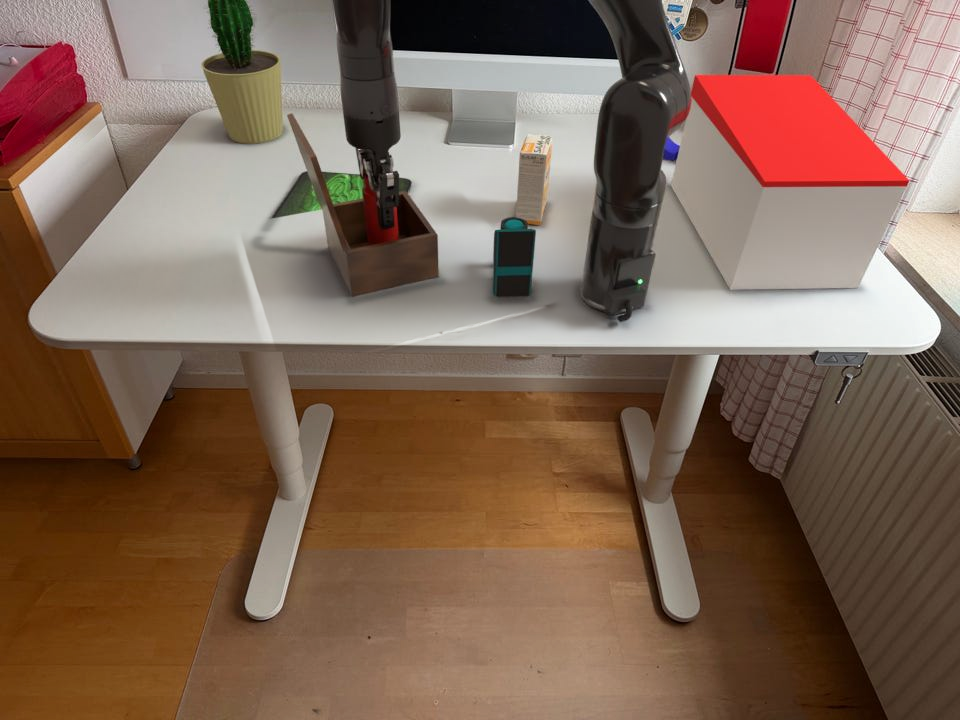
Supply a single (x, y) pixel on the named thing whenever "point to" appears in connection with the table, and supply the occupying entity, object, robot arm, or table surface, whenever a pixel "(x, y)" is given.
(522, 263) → the black and teal battery
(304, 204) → the mouse mat
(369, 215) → the ketchup bottle
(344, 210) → the chest
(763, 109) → the red-topped white box
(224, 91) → the potted cactus
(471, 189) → the table surface
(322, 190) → the chest lid
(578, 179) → the table surface
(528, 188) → the supplement box
